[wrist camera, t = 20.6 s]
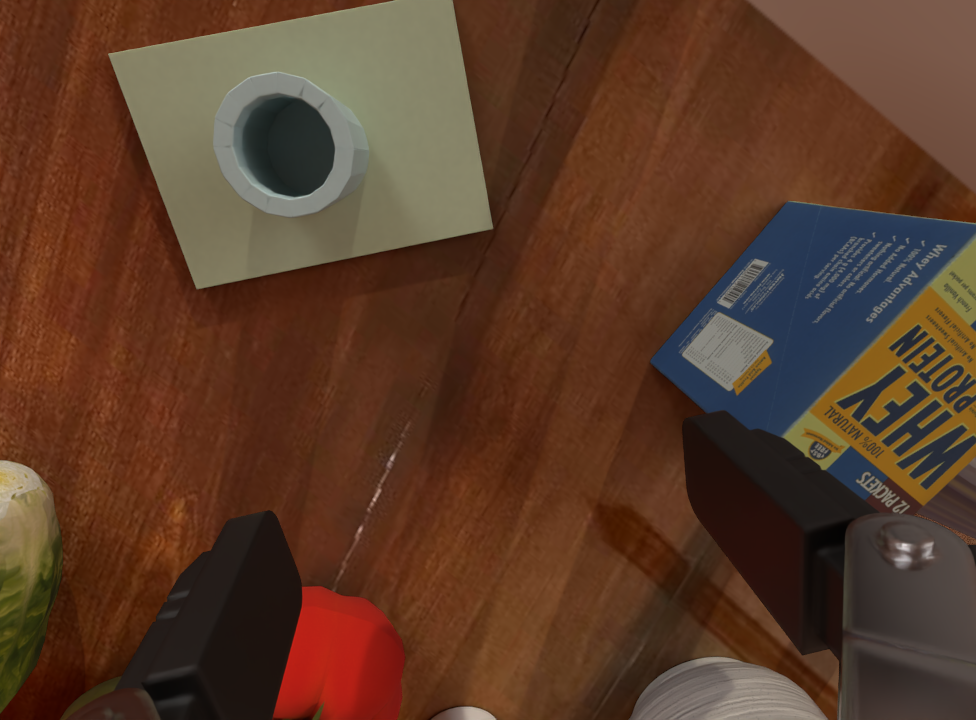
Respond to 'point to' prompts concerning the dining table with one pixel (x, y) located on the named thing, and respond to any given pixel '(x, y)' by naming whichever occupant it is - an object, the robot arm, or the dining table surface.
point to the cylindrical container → (288, 145)
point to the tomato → (341, 662)
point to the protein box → (845, 347)
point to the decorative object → (956, 502)
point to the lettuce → (25, 572)
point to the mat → (356, 84)
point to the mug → (464, 714)
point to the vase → (724, 694)
